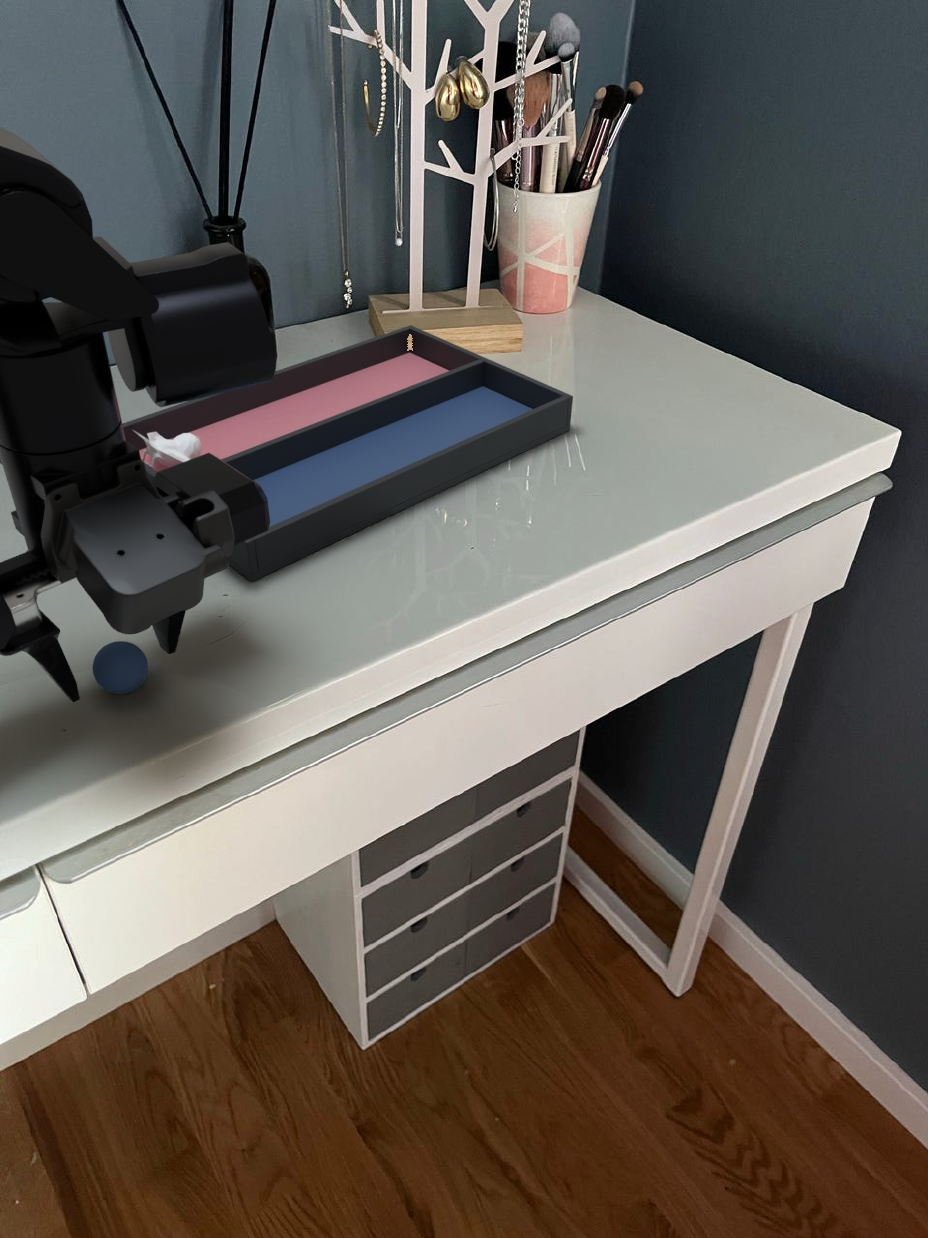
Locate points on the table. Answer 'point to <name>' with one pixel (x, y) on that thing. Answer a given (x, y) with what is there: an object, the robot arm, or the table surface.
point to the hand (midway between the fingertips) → (121, 673)
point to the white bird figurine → (171, 448)
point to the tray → (361, 436)
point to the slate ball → (120, 667)
